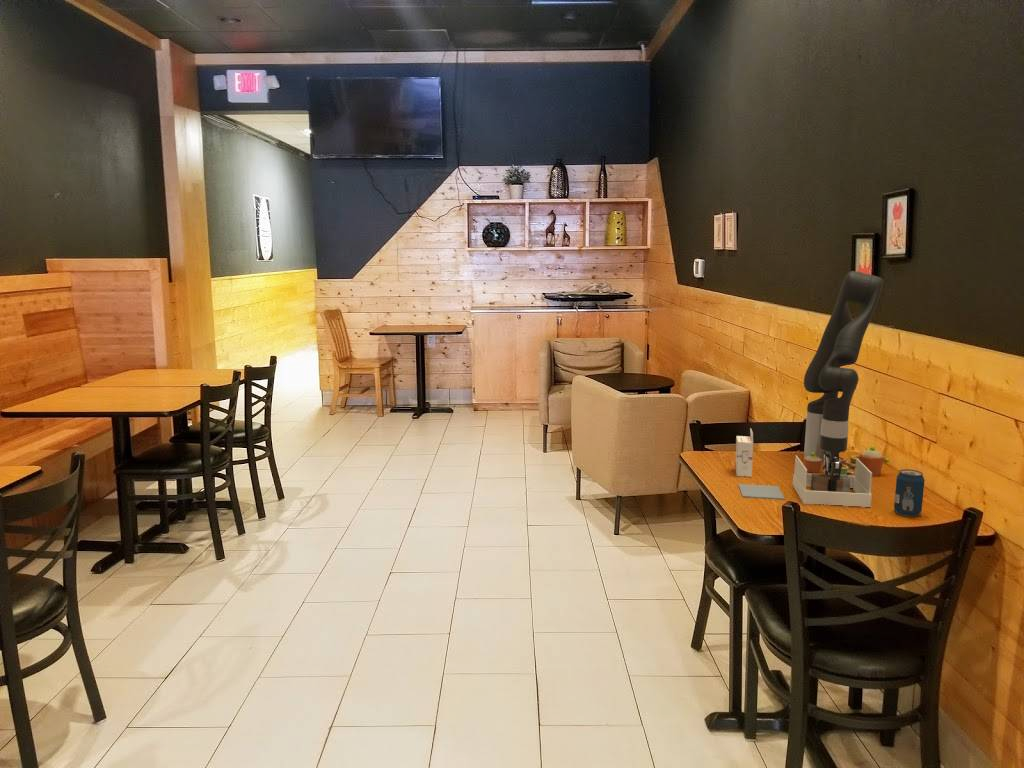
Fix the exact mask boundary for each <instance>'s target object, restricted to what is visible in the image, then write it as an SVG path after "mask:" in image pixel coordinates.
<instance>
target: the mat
mask: <svg viewBox="0 0 1024 768" xmlns="http://www.w3.org/2000/svg"><path fill="white" fill-rule="evenodd" d="M737 486H738V489H739V491H740V495H741V496H742V498H751V499H752V498H753V499H768V500H785V499H786V498H785V496H784V494H783V492H782V490H781V489H780V487H779V486H778V485H763V484H747V483H746V484H744V483H738V485H737Z"/></svg>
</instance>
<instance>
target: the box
mask: <svg viewBox="0 0 1024 768" xmlns="http://www.w3.org/2000/svg"><path fill="white" fill-rule="evenodd" d="M811 474H812V477H811V487H810V491H828V481H829V479H828V477H829V474H825V473H824V472H822V473H821V472H818V473H811ZM833 476H835V474H833ZM850 480H851V479H850V478H849V477H848V476H847V475H844V474H840V479H839V480H837V486H836V492H847V493H851V492H850V491H851V490H850ZM828 492H829V491H828Z"/></svg>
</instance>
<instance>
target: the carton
mask: <svg viewBox="0 0 1024 768" xmlns="http://www.w3.org/2000/svg"><path fill="white" fill-rule="evenodd" d="M794 461H795V462H794V472H793V476H792V486H793V488H794V489H795V492H796V493H797V495H798V496H799V498H800V500H801V501H802V503H803V504H804V505H814V504H817V505H816V506H819V505H818V504H821V505H820V506H830V505H843V506H842V507H848V506H861V507H860V508H865V507H870V508H869V509H871V508H872V495H873V494H872V493H871V491H872V480H873V476H872V472H871V471H870V470H869V469H868V468H867V467H866V466H865V465H864V464H863V463H862V462H861V461H860V460H859V459H858V458H856V466H855V468H854V475H851V476H848V477H849V478H850V479H851V480H850V488H853V489H852V490H853V491H854V492H849V493H847V492H828V491H812V490H811V489H810V490H809V489H807V488H808V487H810V488H811V477H812V473H808V472H807V469H806V468H805V466H804V462H802V460H801V459H800V457H798V455H796V454H795V460H794ZM822 504H824V505H822ZM826 504H828V505H826Z"/></svg>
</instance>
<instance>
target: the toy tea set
mask: <svg viewBox="0 0 1024 768" xmlns="http://www.w3.org/2000/svg"><path fill="white" fill-rule="evenodd" d="M840 457H841V462H842V468H841V474H844V475H847V476H855V471H851V470H849V468H851V467H852V468H851V469H855V466H856V458H858V459H859V460H860V461H861V462H862V463H863V464H864V465H865V466H866V467H867V468H868V469H869V470H870V471H871V472H872V477H879V475H880V476H881V472H882V468H883V465H884V463H886V464H887V463H889V462H890V459H889V458H887V457H886V458H885V455H883V454H882V452H880V451H878V450H876V448H875V446H870V447H869V449H866V450H864V451H862V452H861V453H860V454H857V455H854V454H853V455H850V456H849V460H850V461H848V460H847V458H845V457H843V456H840ZM826 464H827V463H826ZM803 465H804V466H805V468H806V469H807V473H811V472H813V473H815V472H818V473H820V472H821V467H822V465H823V462H822V459H821V458H818V457H817V456H815V453H814V452H811V453H810V456H807V457H804V456H803ZM819 471H820V472H819ZM834 474H835V473H834Z"/></svg>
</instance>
